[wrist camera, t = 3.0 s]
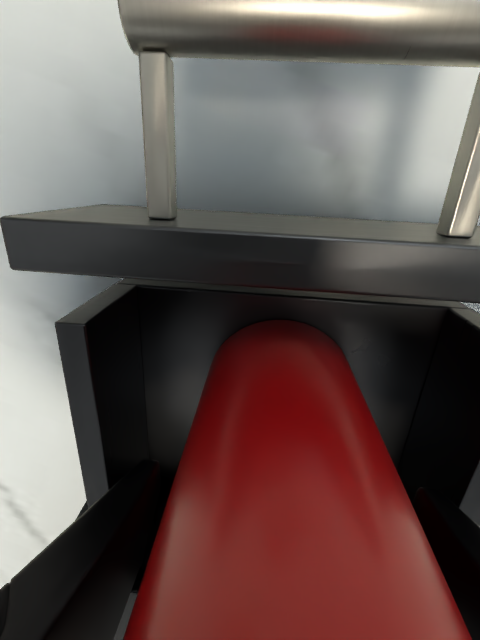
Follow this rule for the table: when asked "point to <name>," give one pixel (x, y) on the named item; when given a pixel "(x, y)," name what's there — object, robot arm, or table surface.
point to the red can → (289, 510)
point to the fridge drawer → (271, 260)
